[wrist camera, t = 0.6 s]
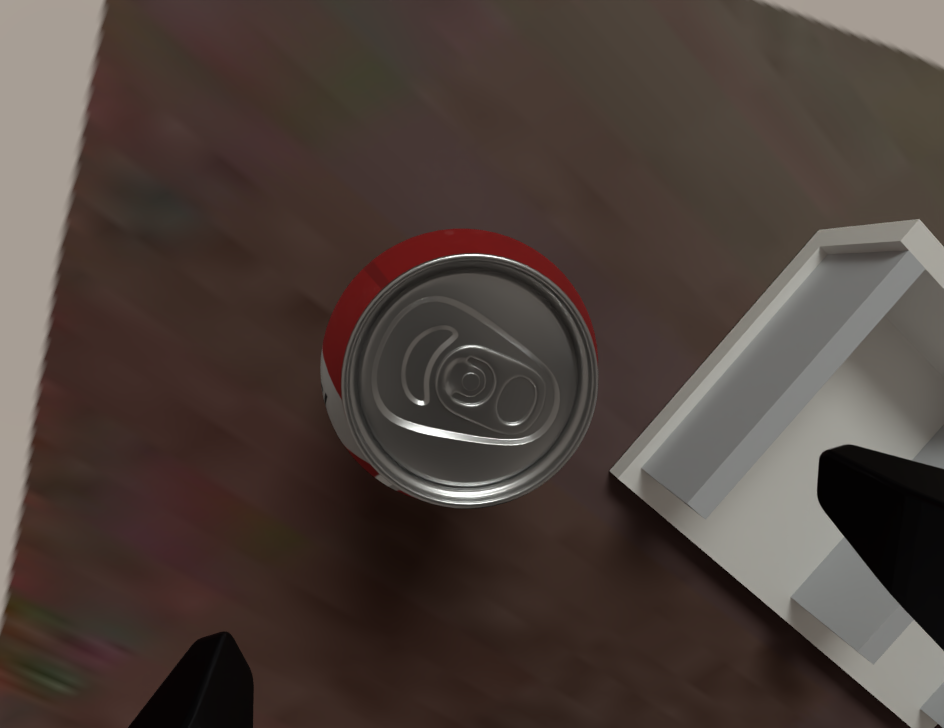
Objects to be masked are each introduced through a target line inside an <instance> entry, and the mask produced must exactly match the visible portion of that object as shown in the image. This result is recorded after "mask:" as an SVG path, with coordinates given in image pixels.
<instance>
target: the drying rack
mask: <svg viewBox="0 0 944 728" xmlns="http://www.w3.org/2000/svg"><path fill="white" fill-rule="evenodd" d="M846 444H851V445H856V446H859V447H863V448H867V449H871V450H874V451H878V452H882V453H886V454H889V455H893V456H897V457H901V458H904V459H908V460H912V461H916V462H919V463H923V464H927V465H931V466H934V467H938V468H942V469H944V247H943V246H942V244H941V243H940V242H939V241H938V240H937V239H936V238H935V237H934V235H933V234H932V233H931V232H930V231H929V230H928V229H927V227H926V226H925V225H924V224H923V223H922V222H921V221H920V219H917V220H908V221H898V222H889V223H880V224H871V225H861V226H852V227H843V228H833V229H824V230H818V231H817V233H816V234H815V235H814V236H813V237H812V238H811V239H810V241H809V242H808V243H807V244H806V245H805V246H804V248H803V249H802V250H801V251H800V252H799V253H798V254H797V256H796V257H795V258H794V259H793V260H792V261H791V263H790V264H789V265H788V266H787V267H786V268H785V269H784V271H783V272H782V273H781V274H780V275H779V276H778V277H777V279H776V280H775V281H774V282H773V283H772V284H771V286H770V287H769V288H768V289H767V290H766V291H765V292H764V294H763V295H762V296H761V297H760V298H759V299H758V300H757V302H756V303H755V304H754V305H753V306H752V307H751V309H750V310H749V311H748V312H747V313H746V314H745V315H744V317H743V318H742V319H741V320H740V321H739V322H738V324H737V325H736V326H735V327H734V328H733V329H732V330H731V332H730V333H729V334H728V335H727V336H726V337H725V338H724V340H723V341H722V342H721V343H720V344H719V345H718V347H717V348H716V349H715V350H714V351H713V352H712V353H711V355H710V356H709V357H708V358H707V359H706V360H705V361H704V363H703V364H702V365H701V366H700V367H699V368H698V370H697V371H696V372H695V373H694V374H693V375H692V376H691V378H690V379H689V380H688V381H687V382H686V383H685V385H684V386H683V387H682V388H681V389H680V390H679V391H678V393H677V394H676V395H675V396H674V397H673V398H672V399H671V401H670V402H669V403H668V404H667V405H666V406H665V408H664V409H663V410H662V411H661V412H660V413H659V414H658V416H657V417H656V418H655V419H654V420H653V421H652V422H651V424H650V425H649V426H648V427H647V428H646V429H645V431H644V432H643V433H642V434H641V435H640V436H639V437H638V439H637V440H636V441H635V442H634V443H633V444H632V446H631V447H630V448H629V449H628V450H627V451H626V452H625V454H624V455H623V456H622V457H621V458H620V459H619V460H618V462H617V463H616V464H615V465H614V466H613V467H612V469H611V470H610V472H611V473H612V474H613V475H614V476H616V477H617V478H618V479H619V480H620V481H621V482H622V483H624V484H625V485H626V486H627V487H628V488H630V489H631V490H632V491H633V492H634V493H635V494H637V495H638V496H639V497H640V498H641V499H642V500H644V501H645V502H646V503H647V504H648V505H650V506H651V507H652V508H653V509H654V510H655V511H657V512H658V513H659V514H660V515H661V516H663V517H664V518H665V519H666V520H667V521H668V522H670V523H671V524H672V525H673V526H674V527H675V528H677V529H678V530H679V531H680V532H681V533H683V534H684V535H685V536H686V537H687V538H688V539H690V540H691V541H692V542H693V543H694V544H696V545H697V546H698V547H699V548H700V549H701V550H703V551H704V552H705V553H706V554H707V555H708V556H710V557H711V558H712V559H713V560H714V561H716V562H717V563H718V564H719V565H720V566H721V567H723V568H724V569H725V570H726V571H727V572H729V573H730V574H731V575H732V576H733V577H734V578H736V579H737V580H738V581H739V582H740V583H741V584H743V585H744V586H745V587H746V588H747V589H749V590H750V591H751V592H752V593H753V594H754V595H756V596H757V597H758V598H759V599H760V600H761V601H763V602H764V603H765V604H766V605H767V606H769V607H770V608H771V609H772V610H773V611H774V612H776V613H777V614H778V615H779V616H780V617H782V618H783V619H784V620H785V621H786V622H787V623H789V624H790V625H791V626H792V627H793V628H794V629H796V630H797V631H798V632H799V633H800V634H802V635H803V636H804V637H805V638H806V639H807V640H809V641H810V642H811V643H812V644H813V645H815V646H816V647H817V648H818V649H819V650H820V651H822V652H823V653H824V654H825V655H826V656H827V657H829V658H830V659H831V660H832V661H833V662H835V663H836V664H837V665H838V666H839V667H840V668H842V669H843V670H844V671H845V672H846V673H848V674H849V675H850V676H851V677H852V678H853V679H855V680H856V681H857V682H858V683H859V684H860V685H862V686H863V687H864V688H865V689H866V690H868V691H869V692H870V693H871V694H872V695H873V696H875V697H876V698H877V699H878V700H879V701H881V702H882V703H883V704H884V705H885V706H886V707H888V708H889V709H890V710H891V711H892V712H893V713H895V714H896V715H897V716H898V717H899V718H901V719H902V720H903V721H904V722H905V723H906V724H908V725H909V726H910V727H911V728H934V727H935V726H936V725H937V724H939V725H940V726H941V727H942V728H944V651H943V650H942V649H941V648H940V647H939V645H938V644H937V643H936V642H935V641H934V640H933V639H932V638H931V637H930V636H929V635H928V634H927V633H926V632H925V631H924V630H923V629H922V628H921V627H920V626H919V624H918V623H917V622H916V621H915V620H914V619H913V618H912V617H911V616H910V615H909V614H908V613H907V612H906V611H905V610H904V609H903V608H902V606H901V605H900V604H899V603H898V602H897V601H896V600H895V599H894V598H893V597H892V595H891V594H890V593H889V592H888V591H887V590H886V588H885V587H884V586H883V585H882V584H881V582H880V581H879V580H878V579H877V578H876V576H875V575H874V574H873V572H872V571H871V570H870V569H869V567H868V566H867V565H866V564H865V562H864V561H863V560H862V559H861V557H860V556H859V555H858V554H857V552H856V551H855V550H854V548H853V547H852V546H851V545H850V543H849V542H848V541H847V540H846V538H845V537H844V536H843V535H842V533H841V532H840V531H839V530H838V528H837V527H836V526H835V524H834V523H833V522H832V521H831V519H830V518H829V517H828V516H827V514H826V513H825V512H824V510H823V509H822V507H821V506H820V504H819V501H818V498H817V480H818V465H819V457H820V455H821V454H822V452H824V451H825V450H828V449H831V448H834V447H838V446H841V445H846Z"/></svg>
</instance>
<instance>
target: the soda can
mask: <svg viewBox="0 0 944 728" xmlns="http://www.w3.org/2000/svg"><path fill="white" fill-rule="evenodd" d="M320 372H321V386H322V392H323V398H324V402H325V405H326V409H327V412H328V415H329V418H330V420H331V423H332V425H333V427H334V429H335V431H336V433H337V435H338V437H339V438H340V440H341V441H342V443H343V445H344V446H345V448H346V449H347V450H348V451H349V453H350V454H351V455H352V457H353V458H354V459H355V460H356V461H357V462H358V463H359V464H360V465H361V466H362V467H363V468H364V469H365V470H366V471H367V472H369V473H370V474H371V475H372V476H373V477H375V478H376V479H378V480H379V481H380V482H382V483H383V484H385V485H387V486H388V487H390V488H392V489H394V490H396V491H398V492H400V493H403V494H405V495H407V496H410V497H413V498H416V499H419V500H422V501H425V502H428V503H431V504H434V505H439V506H443V507H450V508H463V509H472V508H484V507H490V506H495V505H499V504H503V503H506V502H509V501H512V500H514V499H517V498H519V497H521V496H524V495H526V494H528V493H530V492H531V491H533V490H535V489H536V488H538V487H540V486H541V485H542V484H544V483H545V482H546V481H548V480H549V479H550V478H551V477H553V476H554V475H555V474H556V473H557V472H558V471H559V470H560V469H561V468H562V467H563V466H564V465H565V464H566V463H567V461H568V460H569V459H570V458H571V456H572V455H573V454H574V452H575V451H576V449H577V448H578V446H579V445H580V443H581V441H582V439H583V437H584V436H585V434H586V432H587V429H588V427H589V424H590V422H591V419H592V416H593V412H594V409H595V404H596V399H597V391H598V354H597V344H596V339H595V333H594V330H593V326H592V323H591V320H590V317H589V315H588V312H587V310H586V307H585V305H584V304H583V302H582V300H581V298H580V296H579V294H578V293H577V291H576V290H575V288H574V287H573V285H572V284H571V283H570V281H569V280H568V279H567V278H566V276H565V275H564V274H563V273H562V272H561V271H560V270H559V269H558V268H557V267H556V266H555V265H554V264H553V263H552V262H551V261H549V260H548V259H547V258H546V257H545V256H543V255H542V254H540V253H539V252H537V251H536V250H534V249H533V248H531V247H529V246H527V245H525V244H524V243H522V242H520V241H517V240H515V239H512V238H510V237H507V236H504V235H501V234H497V233H494V232H489V231H483V230H475V229H447V230H439V231H434V232H429V233H425V234H422V235H419V236H416V237H412V238H410V239H408V240H405V241H403V242H401V243H399V244H397V245H395V246H393V247H391V248H390V249H388V250H386V251H385V252H383V253H382V254H380V255H379V256H378V257H376V258H375V259H374V260H372V261H371V262H370V263H369V264H368V265H367V266H365V267H364V268H363V269H362V270H361V271H360V272H359V274H358V275H357V276H356V277H355V278H354V279H353V280H352V282H351V283H350V284H349V285H348V287H347V288H346V289H345V291H344V292H343V294H342V296H341V297H340V299H339V301H338V302H337V304H336V306H335V308H334V311H333V313H332V315H331V317H330V320H329V323H328V326H327V328H326V332H325V336H324V340H323V346H322V353H321V368H320Z"/></svg>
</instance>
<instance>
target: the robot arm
mask: <svg viewBox="0 0 944 728" xmlns="http://www.w3.org/2000/svg"><path fill="white" fill-rule="evenodd" d="M817 498H818V501H819V504H820V506H821V507H822V509H823V510H824V512H825V513H826V514H827V516H828V517H829V518H830V519H831V521H832V522H833V523H834V524H835V526H836V527H837V528H838V530H839V531H840V532H841V533H842V535H843V536H844V537H845V538H846V540H847V541H848V542H849V543H850V545H851V546H852V547H853V548H854V550H855V551H856V552H857V554H858V555H859V556H860V557H861V559H862V560H863V561H864V562H865V564H866V565H867V566H868V567H869V569H870V570H871V571H872V572H873V574H874V575H875V576H876V578H877V579H878V580H879V581H880V582H881V584H882V585H883V586H884V587H885V588H886V590H887V591H888V592H889V593H890V594H891V595H892V597H893V598H894V599H895V600H896V601H897V602H898V603H899V604H900V605H901V606H902V608H903V609H904V610H905V611H906V612H907V613H908V614H909V615H910V616H911V617H912V618H913V619H914V620H915V621H916V622H917V623H918V624H919V626H920V627H921V628H922V629H923V630H924V631H925V632H926V633H927V634H928V635H929V636H930V637H931V638H932V639H933V640H934V641H935V642H936V643H937V644H938V645H939V647H940V648H941V649H942V650H943V651H944V469H942V468H938V467H934V466H931V465H927V464H923V463H919V462H916V461H912V460H908V459H904V458H901V457H897V456H893V455H889V454H886V453H882V452H878V451H874V450H871V449H867V448H863V447H859V446H856V445H851V444H846V445H841V446H838V447H834V448H831V449H828V450H825V451H824V452H822V454H821V455H820V457H819V465H818V480H817ZM253 693H254V685H253V677H252V673H251V670H250V667H249V665H248V664H247V662H246V660H245V658H244V656H243V654H242V653H241V651H240V649H239V647H238V645H237V644H236V642H235V640H234V638H233V637H232V635H231V634H230V633H228V632H219V633H216V634H213V635H210V636H206V637H203V638H200V639H198V640H197V641H196V642H194V644H193V645H192V646H191V647H190V648H189V650H188V651H187V652H186V653H185V655H184V656H183V657H182V659H181V660H180V661H179V662H178V664H177V665H176V666H175V668H174V669H173V670H172V671H171V673H170V674H169V675H168V677H167V678H166V679H165V680H164V682H163V683H162V684H161V686H160V687H159V688H158V689H157V691H156V692H155V693H154V695H153V696H152V697H151V698H150V700H149V701H148V702H147V704H146V705H145V706H144V707H143V709H142V710H141V711H140V713H139V714H138V715H137V716H136V718H135V719H134V720H133V721H132V723H131V724H130V725H129V727H128V728H253Z"/></svg>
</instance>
